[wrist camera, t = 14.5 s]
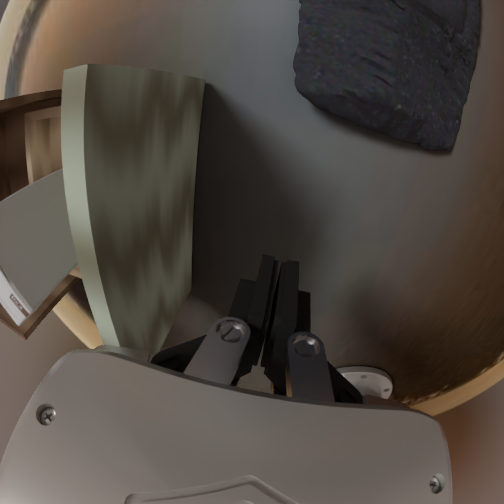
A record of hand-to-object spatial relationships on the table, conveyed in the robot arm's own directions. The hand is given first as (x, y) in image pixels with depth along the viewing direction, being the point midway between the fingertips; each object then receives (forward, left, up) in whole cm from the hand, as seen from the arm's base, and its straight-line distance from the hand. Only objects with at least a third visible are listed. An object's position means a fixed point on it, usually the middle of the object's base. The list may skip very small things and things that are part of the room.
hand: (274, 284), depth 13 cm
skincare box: (0, +14, -7) cm, 16 cm away
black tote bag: (+18, -5, -9) cm, 21 cm away
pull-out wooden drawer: (0, +14, -8) cm, 17 cm away
